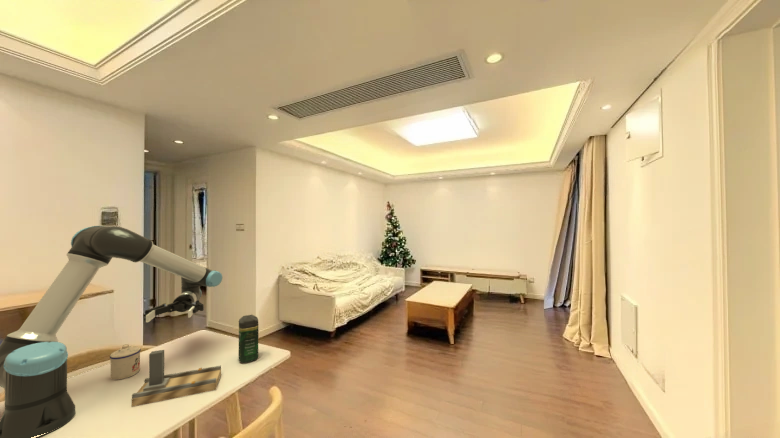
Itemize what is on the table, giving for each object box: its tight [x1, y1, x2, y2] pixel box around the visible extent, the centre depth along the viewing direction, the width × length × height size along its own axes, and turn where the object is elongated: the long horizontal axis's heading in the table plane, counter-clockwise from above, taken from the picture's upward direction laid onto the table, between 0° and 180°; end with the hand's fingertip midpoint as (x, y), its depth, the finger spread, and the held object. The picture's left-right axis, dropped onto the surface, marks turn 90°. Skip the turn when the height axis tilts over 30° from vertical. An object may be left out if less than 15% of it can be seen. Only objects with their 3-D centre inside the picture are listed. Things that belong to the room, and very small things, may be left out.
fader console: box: [131, 365, 222, 407], centre depth 102 cm, size 24×11×4 cm, turn 112°
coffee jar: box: [238, 314, 259, 363], centre depth 125 cm, size 10×8×19 cm
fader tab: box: [143, 349, 170, 392], centre depth 100 cm, size 6×5×12 cm
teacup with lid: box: [109, 343, 142, 381], centre depth 114 cm, size 12×9×12 cm
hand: (168, 316), depth 111 cm, fingers open, 13 cm apart
